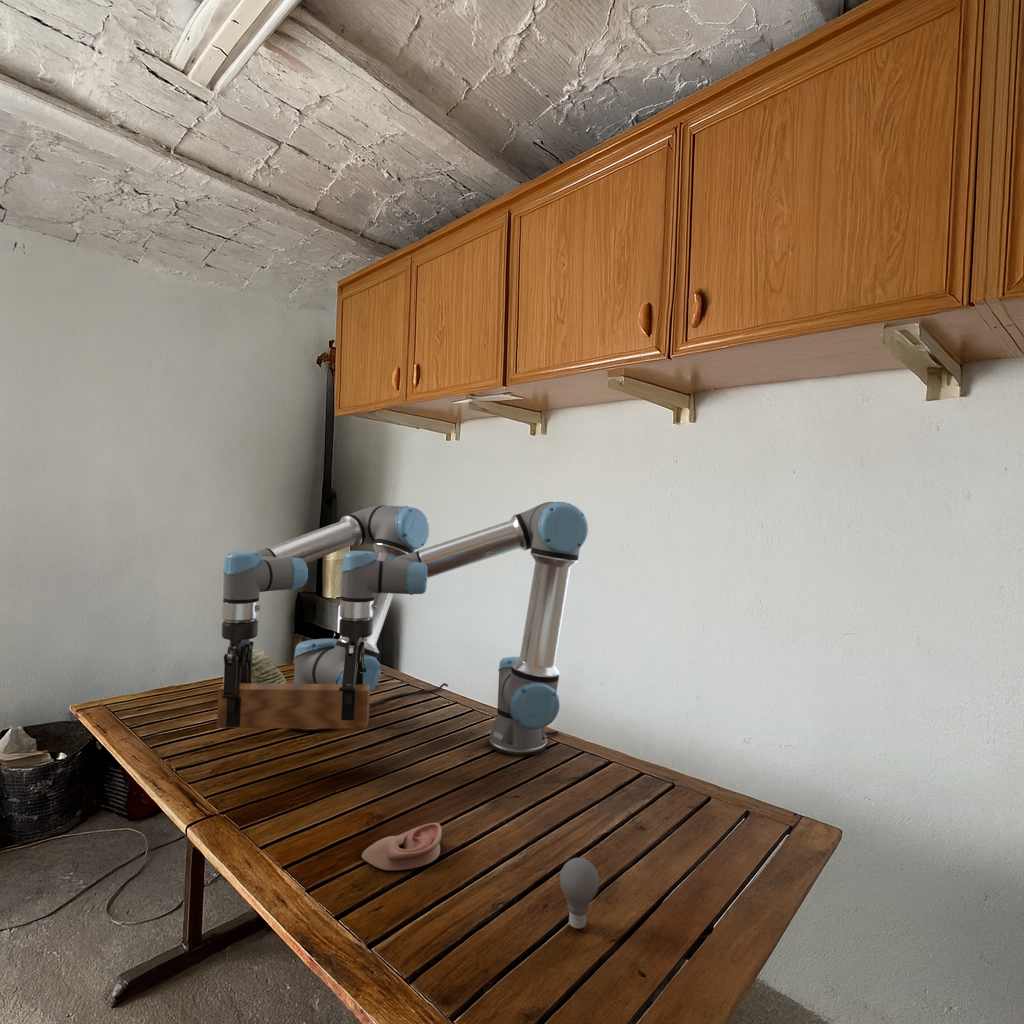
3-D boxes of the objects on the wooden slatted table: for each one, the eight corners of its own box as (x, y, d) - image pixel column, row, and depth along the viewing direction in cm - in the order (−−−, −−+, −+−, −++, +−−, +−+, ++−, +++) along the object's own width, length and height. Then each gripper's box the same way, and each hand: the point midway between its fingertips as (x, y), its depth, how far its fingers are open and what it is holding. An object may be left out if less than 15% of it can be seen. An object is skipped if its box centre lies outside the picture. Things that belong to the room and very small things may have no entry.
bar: (216, 728, 141) (218, 688, 141) (223, 720, 146) (225, 682, 145) (366, 728, 145) (368, 690, 144) (368, 721, 149) (370, 684, 149)
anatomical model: (354, 842, 109) (381, 811, 120) (353, 865, 109) (380, 831, 121) (427, 854, 107) (448, 821, 118) (426, 877, 107) (447, 842, 118)
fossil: (218, 695, 195) (220, 647, 195) (278, 685, 208) (279, 640, 207) (228, 703, 189) (230, 653, 188) (289, 692, 201) (290, 645, 201)
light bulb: (554, 912, 99) (557, 849, 99) (592, 912, 99) (595, 849, 99) (560, 939, 93) (564, 872, 93) (601, 939, 94) (604, 872, 93)
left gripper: (245, 628, 135) (241, 736, 135) (268, 613, 152) (264, 709, 153) (208, 627, 134) (204, 736, 135) (235, 612, 152) (232, 709, 152)
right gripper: (366, 629, 134) (361, 729, 134) (378, 609, 159) (374, 693, 159) (330, 628, 133) (325, 728, 134) (347, 608, 158) (343, 692, 158)
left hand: (236, 721), depth 144 cm, fingers closed on bar, 5 cm apart
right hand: (352, 709), depth 146 cm, fingers open, 13 cm apart
